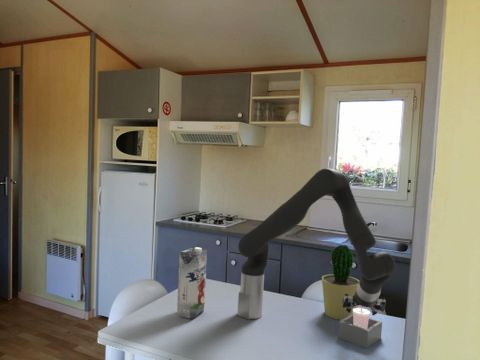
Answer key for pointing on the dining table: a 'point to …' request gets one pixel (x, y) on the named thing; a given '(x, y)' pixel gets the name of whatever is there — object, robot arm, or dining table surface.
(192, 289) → the juice carton
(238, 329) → the dining table surface
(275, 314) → the dining table surface
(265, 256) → the robot arm
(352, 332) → the bin
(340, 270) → the potted cactus
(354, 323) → the beverage cup
